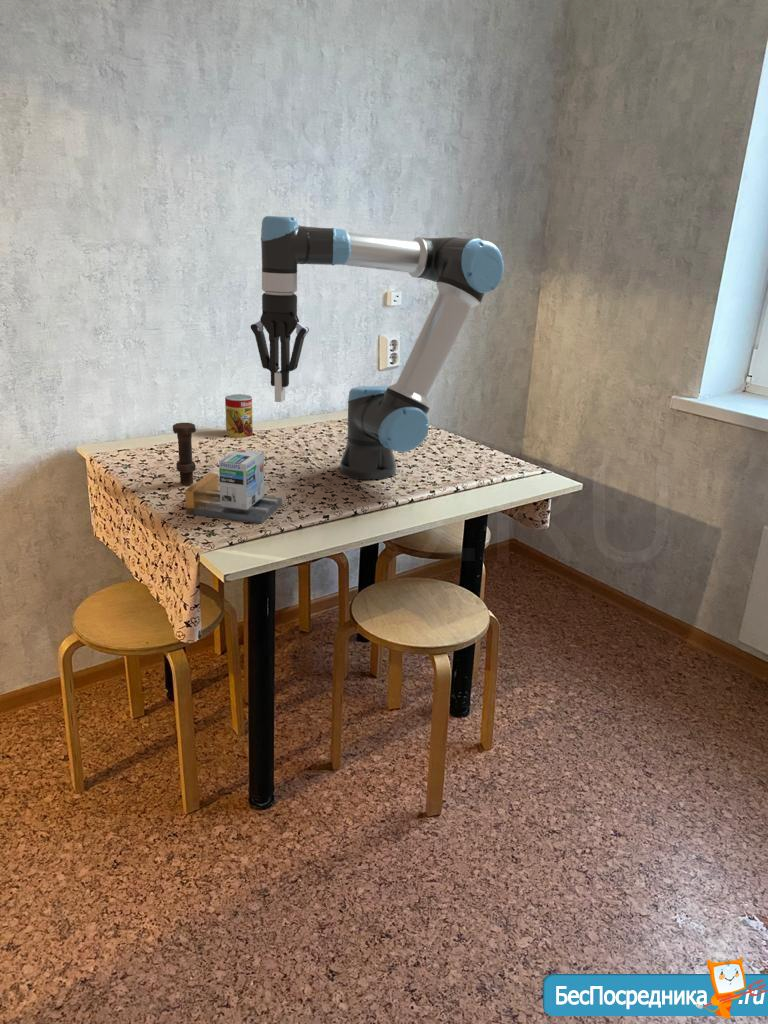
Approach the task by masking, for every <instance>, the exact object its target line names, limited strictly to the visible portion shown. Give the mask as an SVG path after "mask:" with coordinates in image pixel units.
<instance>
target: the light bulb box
mask: <svg viewBox="0 0 768 1024" xmlns="http://www.w3.org/2000/svg"><path fill="white" fill-rule="evenodd" d="M218 466H219V467H218V469H219V490H220V502H221V506H224V507H231V508H238V509H244V510H247V509H249V508H250V507H251V506H252V505H254V504H255V503H256V502H257V501H258V500H260V499H261V498H262V497H263V496H265V453H264V451H256V450H250V449H249V450H248V449H244V448H243V449H242V448H237V449H236V450H234V451H233V452H231V453H230V454H228V455H226V456H225V457H223V458H222V459H221V460H219V461H218Z"/></svg>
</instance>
